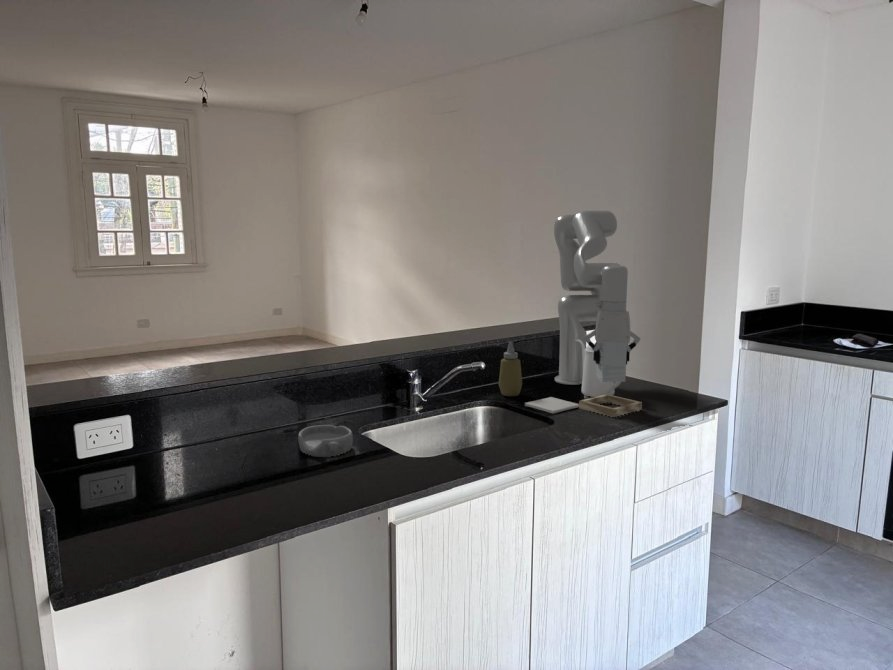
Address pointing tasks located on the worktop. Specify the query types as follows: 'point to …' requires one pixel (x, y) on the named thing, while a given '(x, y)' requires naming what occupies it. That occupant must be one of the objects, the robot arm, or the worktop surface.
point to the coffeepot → (593, 376)
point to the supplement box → (612, 361)
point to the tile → (552, 405)
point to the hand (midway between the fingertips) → (611, 363)
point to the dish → (325, 440)
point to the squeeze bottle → (510, 373)
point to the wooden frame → (624, 408)
